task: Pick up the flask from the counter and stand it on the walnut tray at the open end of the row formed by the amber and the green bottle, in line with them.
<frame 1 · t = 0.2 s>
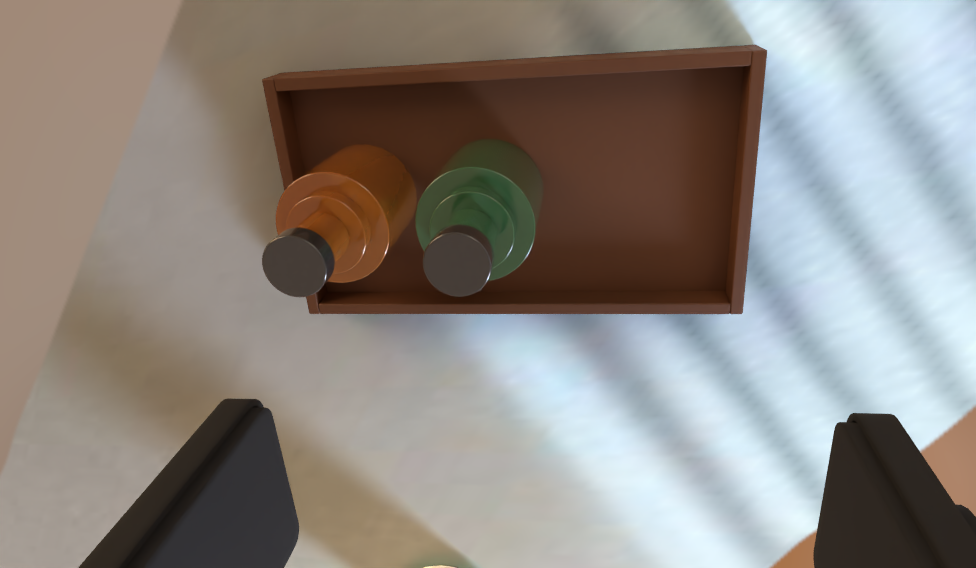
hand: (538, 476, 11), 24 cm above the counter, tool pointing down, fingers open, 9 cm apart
amber bottle: (367, 194, 35), point 1 cm above the counter, touching tray
tray: (512, 186, 34), on the counter
green bottle: (491, 190, 34), point 1 cm above the counter, touching tray
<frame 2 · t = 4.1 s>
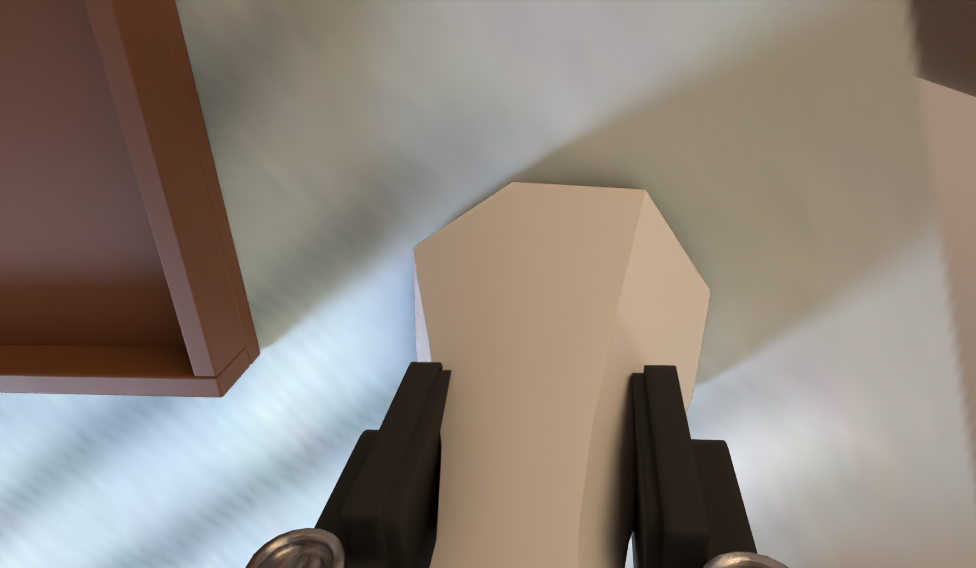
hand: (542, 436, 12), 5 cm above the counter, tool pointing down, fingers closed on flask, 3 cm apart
flask: (556, 314, 17), on the counter, touching gripper
when the fingers open (5 cm above the counter, at t = 12.0 s): flask stays where it is, resting on tray.
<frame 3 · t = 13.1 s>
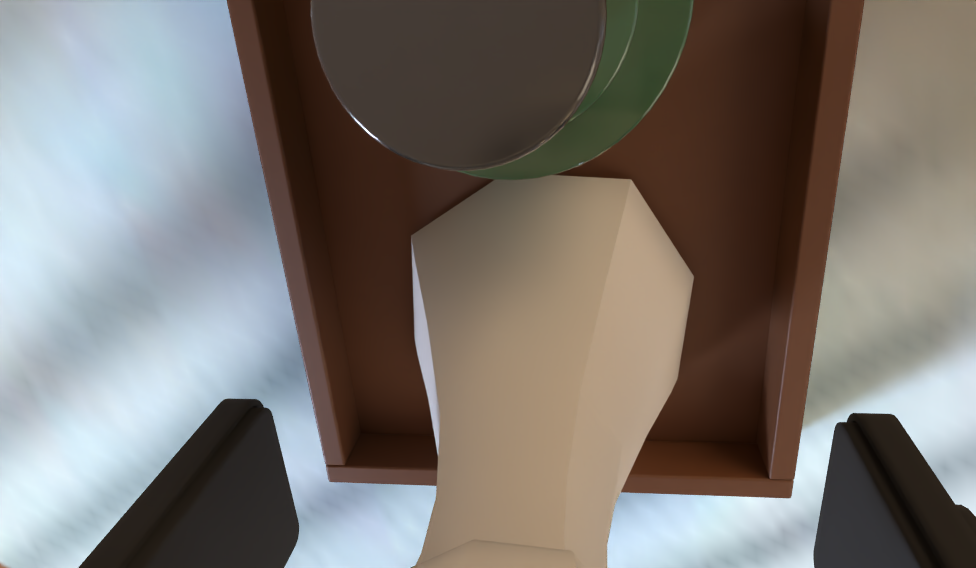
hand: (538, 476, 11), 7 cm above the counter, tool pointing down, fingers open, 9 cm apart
flask: (548, 300, 17), resting on tray
tray: (536, 39, 15), on the counter
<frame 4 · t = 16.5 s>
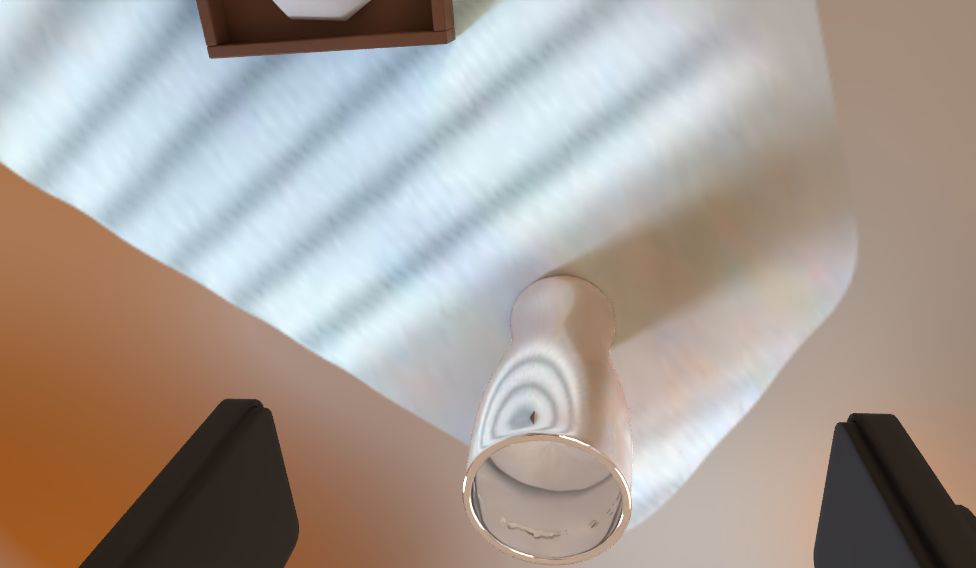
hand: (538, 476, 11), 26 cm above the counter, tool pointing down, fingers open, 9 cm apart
beer glass: (562, 320, 40), on the counter
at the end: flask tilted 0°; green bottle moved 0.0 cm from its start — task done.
